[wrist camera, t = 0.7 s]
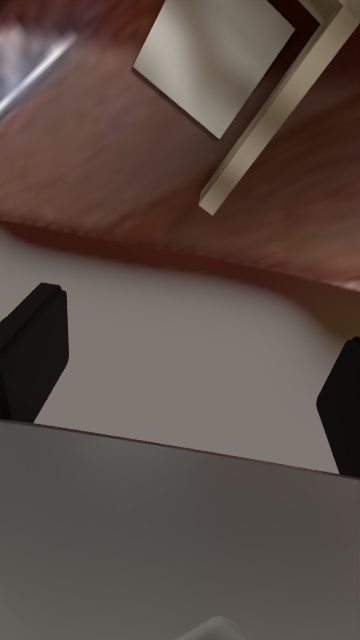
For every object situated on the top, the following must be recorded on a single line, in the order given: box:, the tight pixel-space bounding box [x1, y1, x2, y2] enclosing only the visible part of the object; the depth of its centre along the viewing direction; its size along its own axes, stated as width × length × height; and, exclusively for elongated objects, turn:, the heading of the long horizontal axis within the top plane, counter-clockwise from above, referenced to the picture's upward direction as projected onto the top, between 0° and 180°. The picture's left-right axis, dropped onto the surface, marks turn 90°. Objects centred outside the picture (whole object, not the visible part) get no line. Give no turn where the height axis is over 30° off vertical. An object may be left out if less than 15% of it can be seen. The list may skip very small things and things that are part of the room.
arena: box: [133, 0, 360, 216], centre depth 27 cm, size 18×18×6 cm
